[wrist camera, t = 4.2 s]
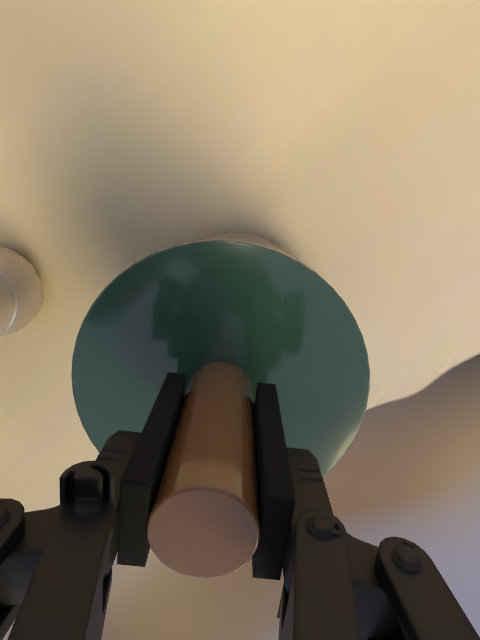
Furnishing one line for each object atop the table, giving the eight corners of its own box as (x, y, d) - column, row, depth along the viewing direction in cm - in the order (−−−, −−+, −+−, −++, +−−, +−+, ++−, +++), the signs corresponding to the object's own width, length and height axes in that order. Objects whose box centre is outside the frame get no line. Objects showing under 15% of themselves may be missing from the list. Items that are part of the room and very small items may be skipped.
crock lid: (81, 219, 17) (-98, 239, 8) (391, 257, 17) (548, 316, 8) (81, 481, 21) (-39, 688, 12) (333, 507, 21) (397, 726, 12)
